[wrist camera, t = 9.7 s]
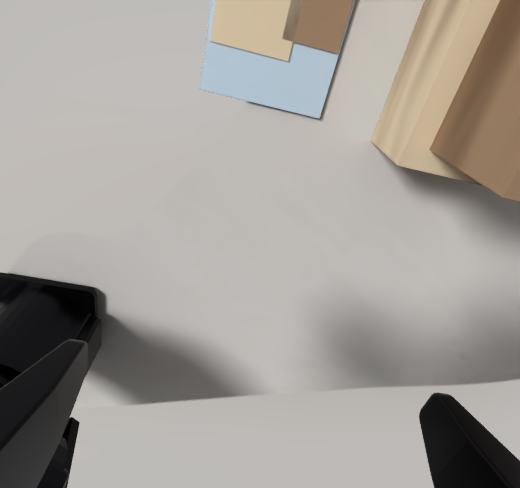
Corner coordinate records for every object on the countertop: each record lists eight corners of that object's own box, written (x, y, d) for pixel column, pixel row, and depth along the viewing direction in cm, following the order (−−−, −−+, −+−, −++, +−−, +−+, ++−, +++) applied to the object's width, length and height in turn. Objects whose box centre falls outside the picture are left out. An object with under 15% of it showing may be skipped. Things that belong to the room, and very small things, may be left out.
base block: (370, 140, 18) (397, 165, 15) (445, -52, 14) (505, -79, 11) (507, 173, 19) (561, 203, 16) (611, 1, 15) (713, -8, 12)
